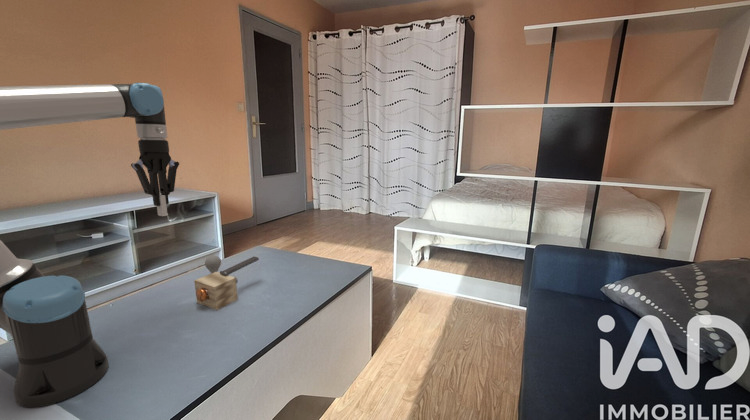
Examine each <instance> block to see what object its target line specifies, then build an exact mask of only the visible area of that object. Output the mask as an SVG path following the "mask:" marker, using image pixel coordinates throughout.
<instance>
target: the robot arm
mask: <svg viewBox="0 0 750 420" xmlns="http://www.w3.org/2000/svg"><path fill="white" fill-rule="evenodd" d="M165 112H166V111H165V100H164V95H163V92H162V88H160V87H159V86H157V85H154V84H153V85H152V84H150V83H148V82H135V83H113V84H109V83H108V84H107V83H106V84H105V83H104V84H101V83H100V84H87V83H86V84H70V85H69V84H68V85H67V84H66V85H65V84H64V85H63V84H62V85H60V84H59V85H57V84H56V85H19V86H18V85H17V86H15V85H14V86H0V131H3V130H14V129H24V128H33V127H42V126H43V127H44V126H51V125H62V124H70V123H72V124H73V123H80V122H87V121H88V122H90V121H99V120H100V121H101V120H108V119H117V118H118V119H119V118H131V119H132V118H133V119H134V121H135V126H136V127H135V128H136V129H135V130H136V136H137V138H138V140H137V145H138V151H139V157H138V160H137V161H136V162H132V163H130V167H132V169H133V170H134V171H135V173H136V176H137V177H138V180H139V182H140V184H141V187H142V189H143V193H145V194H146V195H151V196H152V201H153V206H154V207H155V206H156V212H157V216H159V217H166V216H168V215H169V214H168V208H167V207H168V206H167V205H169V204H170V202H169V195H170V194H171V193H174V191H175V184H176V177H177V169H178V167H179V165H180V162H179V161H175V160H173V159H172V157H171V155H170V146H169V145H170V144H169V141H168V140H166V139H167V138H168V131H167V130H168V129H167V124H166V123H167V122H166V113H165ZM167 167H168V169H167ZM144 168H146V170H147V173H148V176H147V174H146V171H145V170H144ZM87 307H88V306H87V302H86V293H85V291H84V288H83V287H82V284H81V282H80V281H79V280H78V279H77V278H75V277H73V276H68V275H61V274H60V275H57V276H56V275H44V274H43V272H42V271H41V270H40V269H39V268H38V267H37V266H36V264H34V263H33V261H32V260H31V259H24V258H17V256H15V254H14V253H13V252H12V251H11V250H10V249H9V248H8V246H7V245H6V244H5V243H4V242H3V241H2V240H1V239H0V329H1V330H3V331H4V332H6V333H8V334H10V336H11V338H12V341H13V345H14V348H15V352H16V355H17V359H18V363H19V364H18V365H19V366H18V370H17V373H16V378H15V383H14V387H13V394H14V398H15V402H16V403H17V405H18V406H21V407H24V408H39V407H46V406H50V405H54V404H56V402H57V403H59V402H62V401H65V400H68V399H70V398H72V397H74V396H76V395H78V394H80V393H83V392H84V391H86V390H88V389H89V388H90V387H92V386H93V385H95V384H96V383H98V382H99V381H100V380H101V378H103V377H104V375H106V373H107V372H108V369H109V367H110V365H109V359H108V356H107V354H106V352H105V351H104V350H103V349H102V347H100V345H99V344H98V343H97V341H96V340H95V339H94V336H93V333H92V327H91V323H90V317H89V313H88V308H87Z"/></svg>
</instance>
